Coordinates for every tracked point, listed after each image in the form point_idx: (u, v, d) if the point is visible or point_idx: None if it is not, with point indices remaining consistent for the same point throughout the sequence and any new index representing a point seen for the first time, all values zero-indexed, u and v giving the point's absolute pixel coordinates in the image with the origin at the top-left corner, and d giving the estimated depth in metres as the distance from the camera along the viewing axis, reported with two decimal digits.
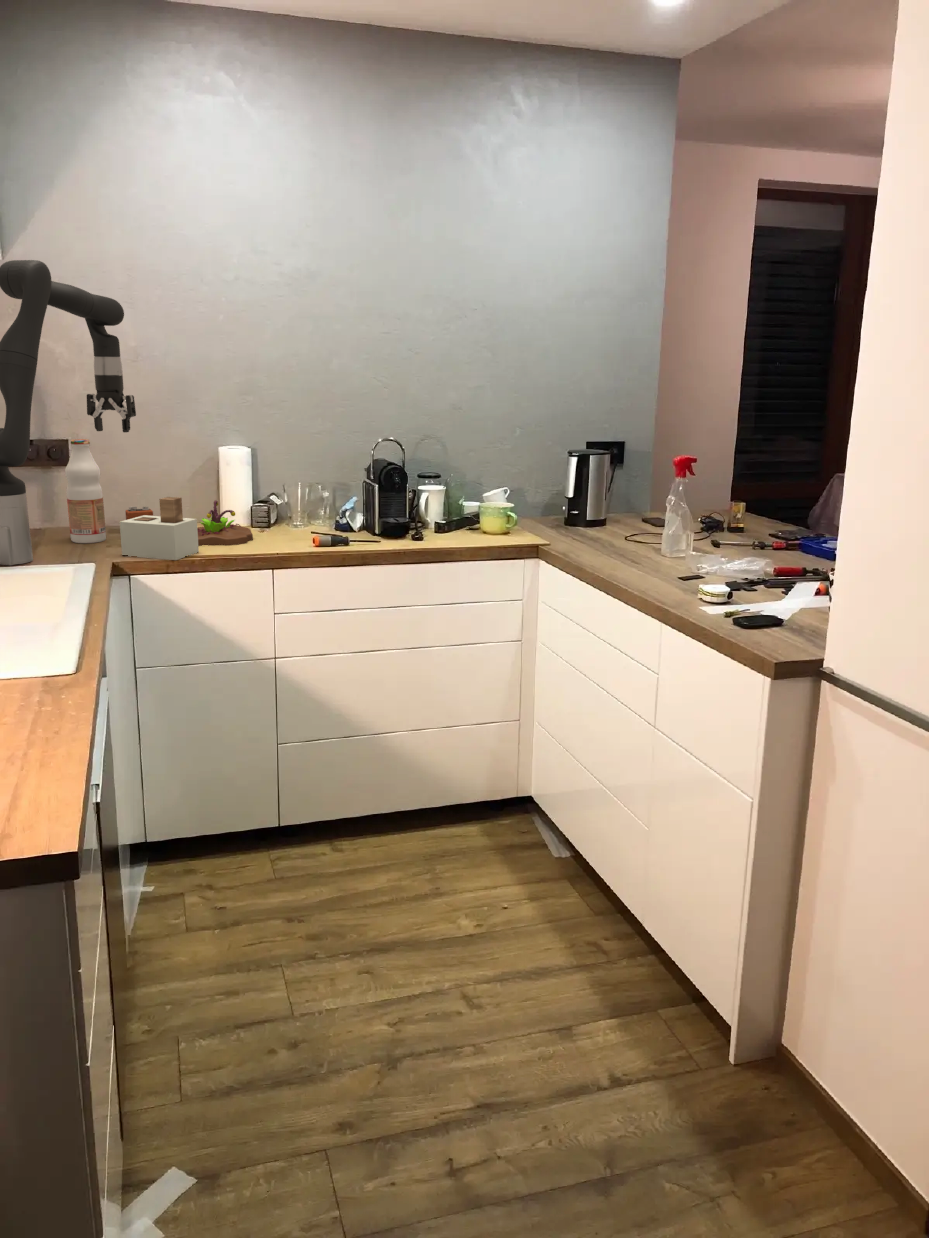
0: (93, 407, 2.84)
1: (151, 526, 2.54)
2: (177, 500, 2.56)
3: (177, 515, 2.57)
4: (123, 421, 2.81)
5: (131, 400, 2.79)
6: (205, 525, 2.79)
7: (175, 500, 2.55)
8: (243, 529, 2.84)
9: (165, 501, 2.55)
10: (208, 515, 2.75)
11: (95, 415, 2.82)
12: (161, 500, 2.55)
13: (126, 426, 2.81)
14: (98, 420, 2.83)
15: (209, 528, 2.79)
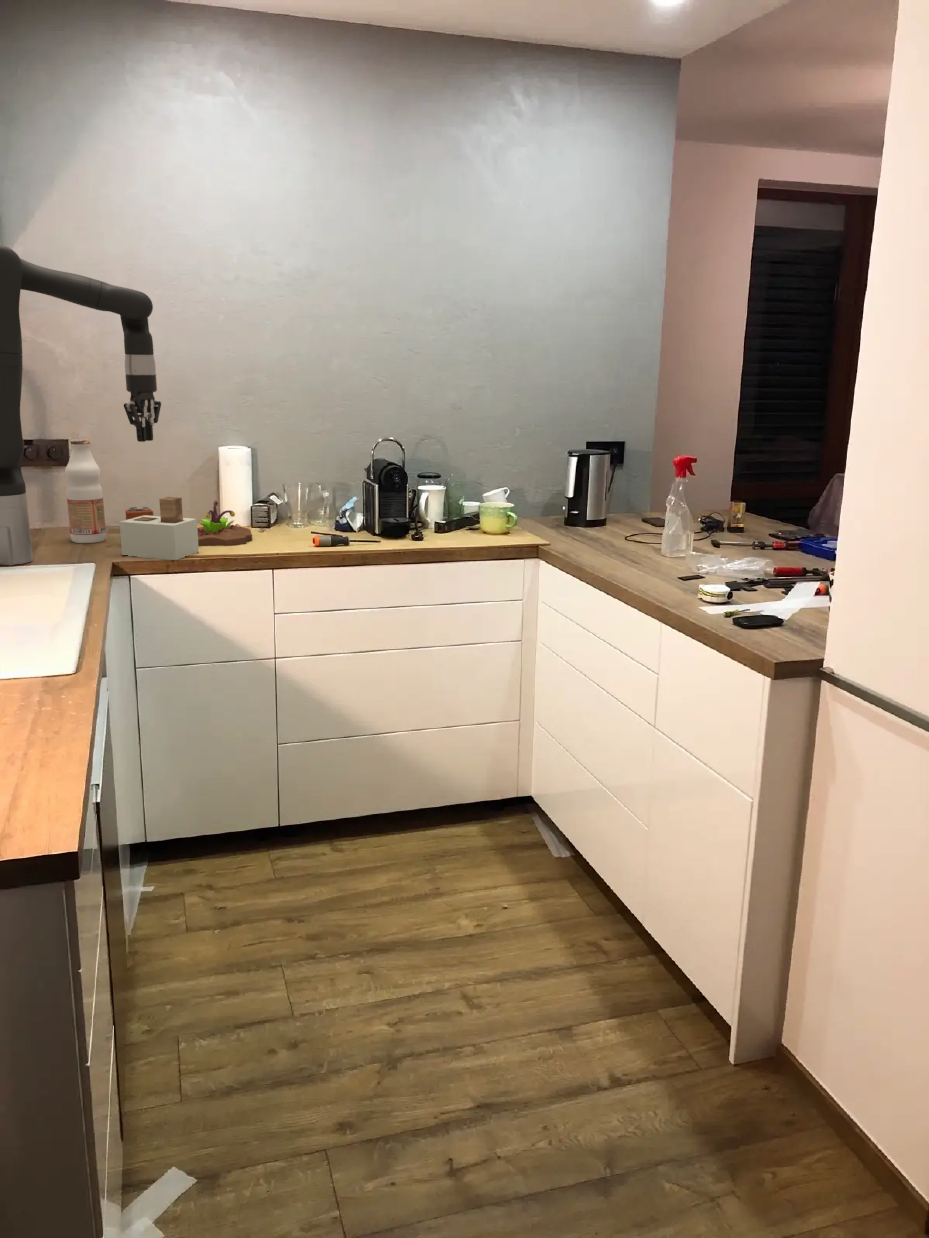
0: None
1: (151, 526, 2.54)
2: (177, 500, 2.56)
3: (177, 515, 2.57)
4: (151, 428, 2.60)
5: None
6: (204, 525, 2.78)
7: (175, 500, 2.55)
8: (243, 530, 2.83)
9: (165, 501, 2.55)
10: (207, 515, 2.75)
11: (144, 424, 2.56)
12: (161, 500, 2.55)
13: None
14: None
15: (208, 528, 2.79)
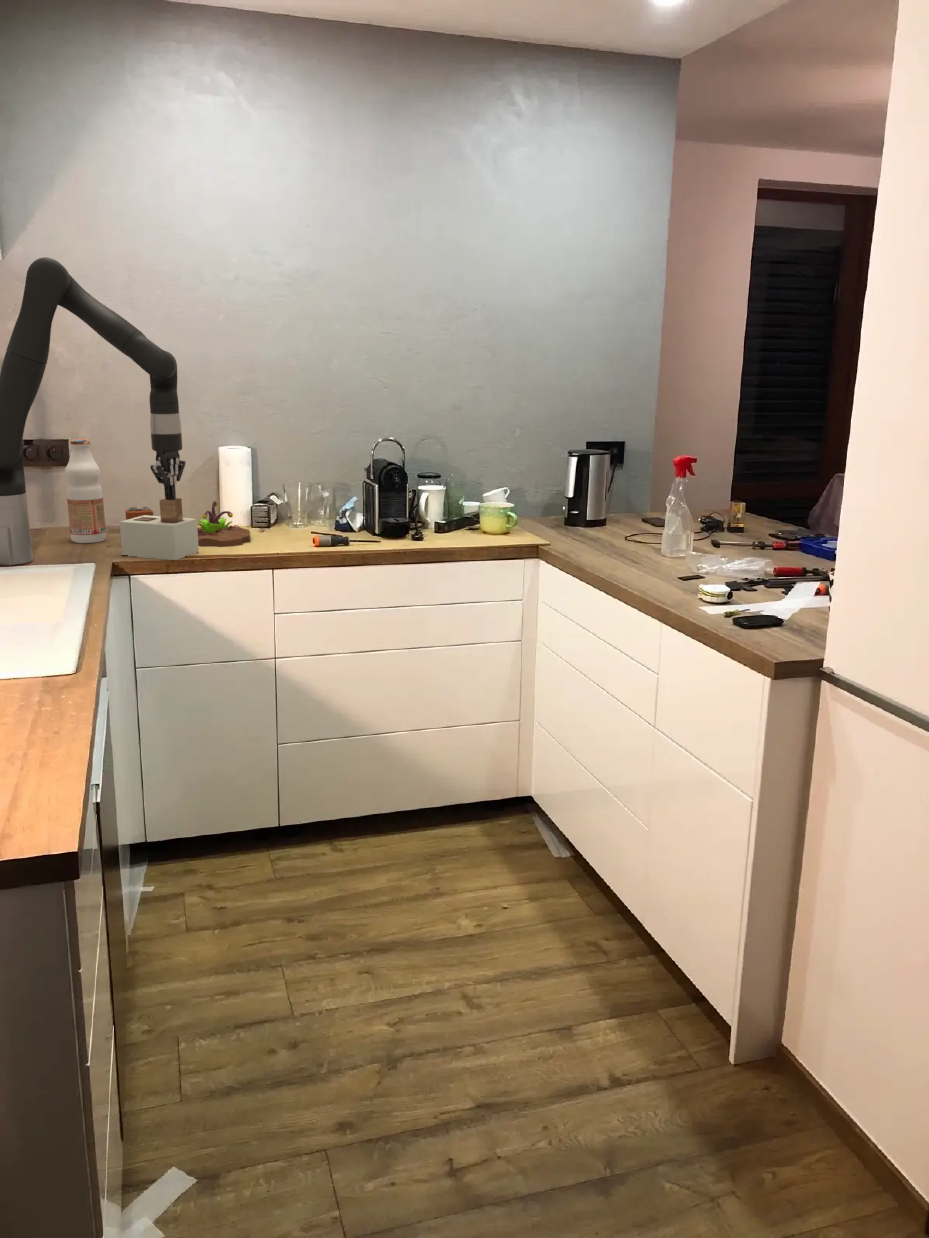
0: None
1: (151, 526, 2.54)
2: (177, 501, 2.56)
3: (177, 516, 2.57)
4: (174, 487, 2.56)
5: None
6: (202, 526, 2.78)
7: (175, 501, 2.55)
8: (241, 531, 2.82)
9: (165, 501, 2.55)
10: (204, 516, 2.74)
11: (172, 482, 2.55)
12: (161, 501, 2.55)
13: (174, 492, 2.57)
14: None
15: (206, 529, 2.78)
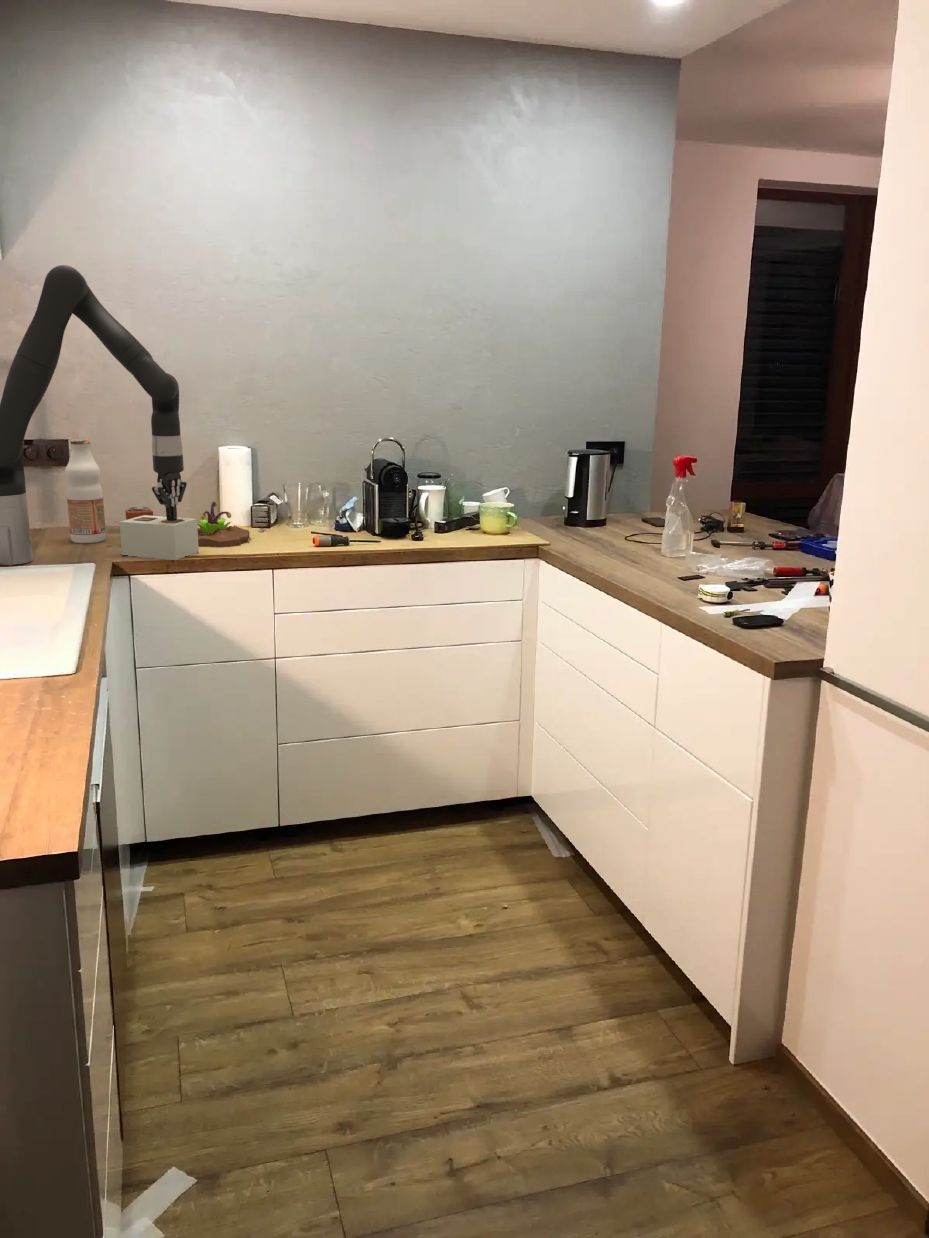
0: None
1: (151, 526, 2.54)
2: None
3: None
4: (175, 508, 2.58)
5: None
6: (201, 526, 2.77)
7: (176, 522, 2.57)
8: (240, 531, 2.81)
9: (166, 522, 2.57)
10: (202, 516, 2.73)
11: (173, 503, 2.56)
12: (163, 522, 2.57)
13: None
14: None
15: (205, 529, 2.77)
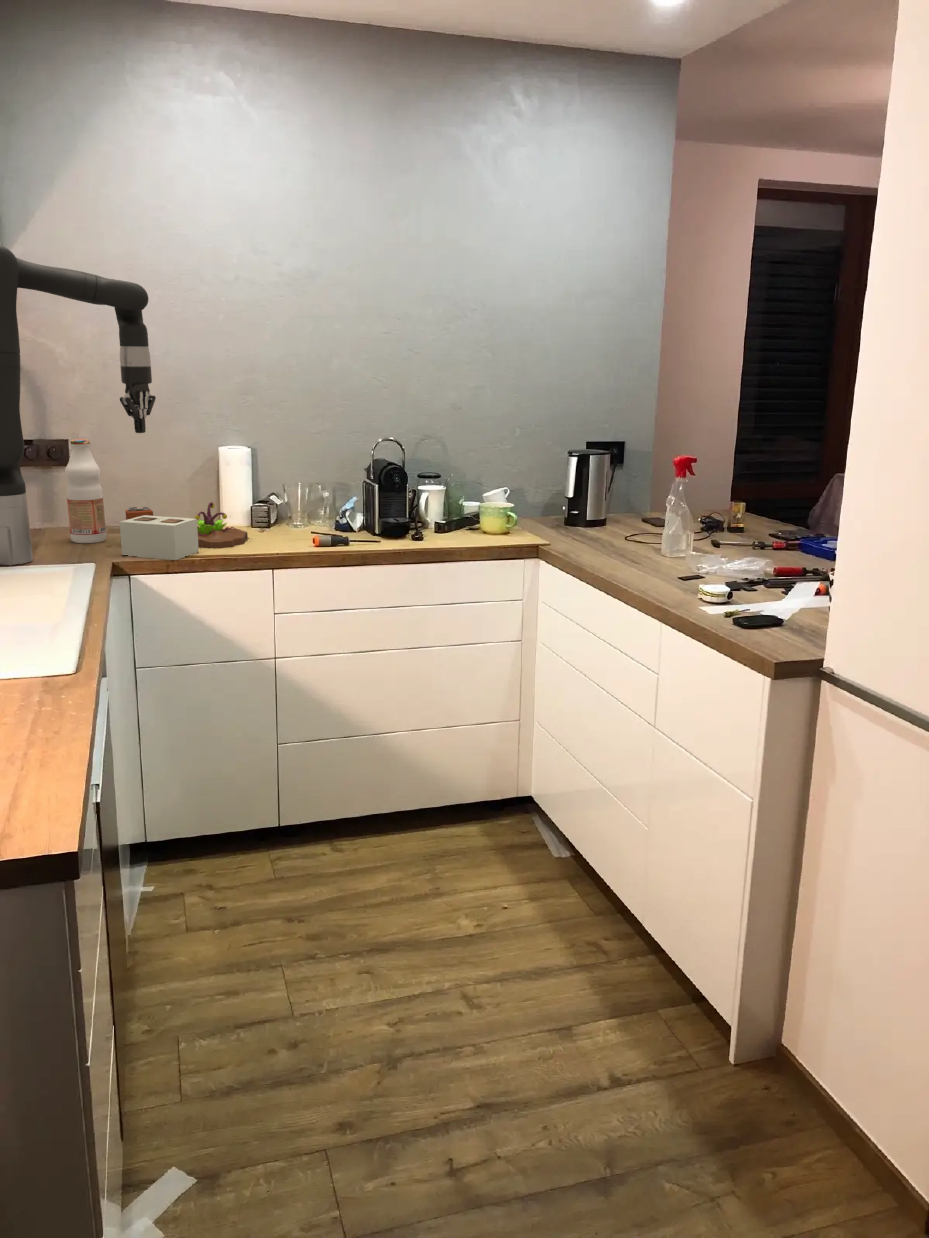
0: None
1: (151, 526, 2.54)
2: None
3: None
4: (144, 420, 2.59)
5: None
6: None
7: (176, 522, 2.57)
8: (236, 532, 2.79)
9: None
10: (196, 517, 2.72)
11: (142, 415, 2.58)
12: (163, 522, 2.57)
13: (144, 426, 2.60)
14: None
15: (200, 530, 2.76)
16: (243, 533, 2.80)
